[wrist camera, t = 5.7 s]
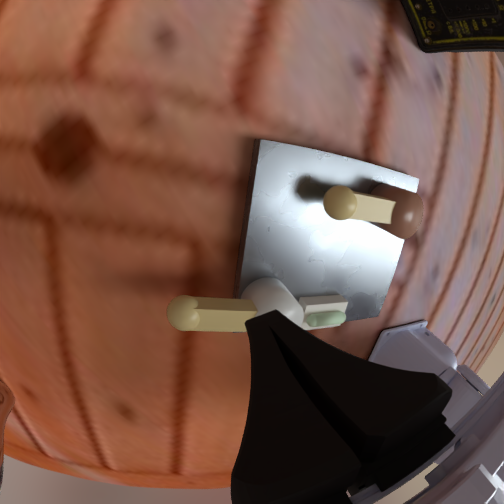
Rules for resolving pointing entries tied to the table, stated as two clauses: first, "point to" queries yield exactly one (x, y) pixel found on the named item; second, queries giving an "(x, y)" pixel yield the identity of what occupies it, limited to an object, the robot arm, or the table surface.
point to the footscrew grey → (233, 308)
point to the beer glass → (4, 419)
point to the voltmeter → (457, 24)
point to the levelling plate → (315, 228)
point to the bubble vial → (323, 311)
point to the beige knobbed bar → (377, 208)
